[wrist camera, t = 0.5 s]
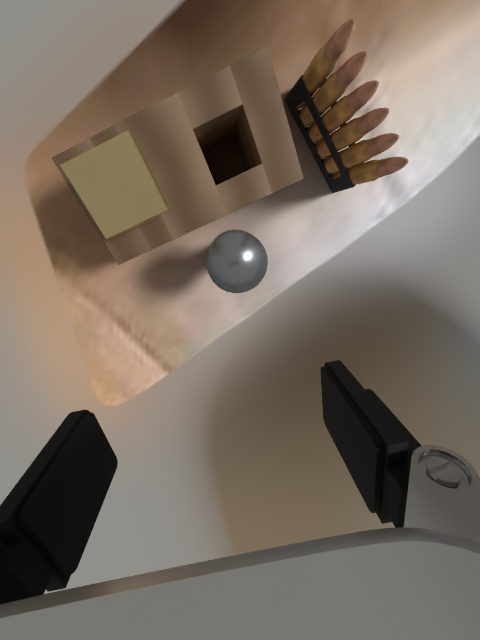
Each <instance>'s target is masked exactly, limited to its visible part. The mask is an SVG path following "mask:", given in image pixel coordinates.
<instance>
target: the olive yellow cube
mask: <svg viewBox="0 0 480 640" xmlns="http://www.w3.org/2000/svg"><path fill="white" fill-rule="evenodd" d="M60 166H61V167H62V169H63V171H64V172H65V174H66V175H67V177H68V179H69V180H70V182H71V183H72V185H73V187H74V188H75V190H76V192H77V193H78V195H79V196H80V198H81V200H82V201H83V203H84V204H85V206H86V208H87V209H88V211H89V212H90V214H91V216H92V217H93V219H94V221H95V222H96V224H97V225H98V227H99V229H100V230H101V232H102V233H103V235H104V237H105V238H106V239H109V238H113V237H116V236H118V235H120V234H122V233H124V232H126V231H128V230H130V229H132V228H135V227H137V226H139V225H141V224H143V223H145V222H147V221H149V220H151V219H153V218H156V217H158V216H160V215H162V214H164V213H166V212H168V211H170V210H171V208H170V206H169V204H168V202H167V200H166V198H165V196H164V194H163V192H162V190H161V188H160V186H159V183H158V181H157V179H156V177H155V175H154V173H153V171H152V169H151V167H150V165H149V163H148V161H147V159H146V157H145V155H144V153H143V151H142V149H141V147H140V145H139V143H138V141H137V139H136V137H135V136H134V135H133V134H132V133H131V132H130V131H128V130H127V131H125V132H123V133H121V134H119V135H117V136H116V137H114V138H112V139H110V140H108V141H106V142H104V143H102V144H100V145H98V146H96V147H94V148H92V149H90V150H88V151H86V152H84V153H82V154H81V155H79V156H77V157H75V158H73V159H71V160H69V161H67V162H65V163H63V164H61V165H60Z"/></svg>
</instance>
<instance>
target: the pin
mask: <svg viewBox="0 0 480 640" xmlns="http://www.w3.org/2000/svg"><path fill="white" fill-rule="evenodd" d="M267 263H268V261H267V254H266V251H265V249H264V247H263V245H262V244H261V242H260V241H259V240H258V239H257V238H256V237H254V236H253V235H251V234H250V233H248V232H245V231H243V230H229V231H226V232H223V233H221V234H220V235H219V236H217V237H216V238H215V239H214V241H213V242H212V244H211V246H210V248H209V251H208V255H207V270H208V273H209V275H210V277H211V279H212V281H213V282H214V283H215V284H216V285H217V286H218V287H220V288H221V289H223V290H225V291H228V292H232V293H242V292H246V291H249V290H251V289H253V288H254V287H256V286H257V285H258V284H259V283H260V282H261V280H262V279H263V277H264V275H265V273H266V270H267Z"/></svg>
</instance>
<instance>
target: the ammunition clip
mask: <svg viewBox="0 0 480 640" xmlns="http://www.w3.org/2000/svg"><path fill="white" fill-rule="evenodd" d="M354 28H355V20H354V19H351V20H348V21H347V22H345V23H344V24H343V25H341V26H340V27H339V28H338V29H337V31H336V32H335V33H334V34H333V35H332V37H331V38H330V40H329V41H328V42H327V43H326V45H325V46H324V47H323V48H321V49H320V50H319V52H318V53H317V54H316V56H315V57H314V59H313V60H312V62H311V63H310V65H309V67H308V68H307V70H306V71H305V73H304V75H302V76H301V77H300V78H299V80H298V81H297V82H296V84H295V85H294V86H293V88H292V89H291V90H290V92H289V93H288V95H287V96H286V97H285V102H286V104H287V106H288V108H289V110H290V112H291V114H292V116H293V118H294V120H295V122H296V123H297V125H298V127H299V129H300V131H301V133H302V135H303V137H304V139H305V141H306V143H307V145H308V147H309V149H310V150H311V152H312V154H313V156H314V158H315V160H316V162H317V164H318V166H319V168H320V170H321V172H322V174H323V175H324V177H325V179H326V181H327V183H328V185H329V187H330V189H331V191H332V193H335V192H338V191H342V190H345V189H348V188H352V187H354V186H355V185H356V184H361V183H365V182H370V181H374V180H376V179H378V178H379V177H383V176H385V175H389V174H392V173H394V172H396V171H398V170H400V169H401V168H403V167H404V166H405V165H406V164H407V163H408V159H406V158H404V157H391V158H386V159H381V160H371V161H368V162H365V161H367V160H369V159H370V158H371V157H373V156H375V155H377V154H380V153H382V152H383V151H385V150H387V149H389V148H390V147H391V146H392V145H394V144H395V143H396V142H397V140H398V139H399V135H397V134H394V133H389V134H383V135H380V136H377V137H375V138H372V139H369V140H363V141H360V142H358V143H356V144H355V142H356V141H358V140H360V139H361V138H362V137H363V136H364V135H365V134H367V133H368V132H369V131H371V130H373V129H374V128H376V127H377V126H378V125H379V124H380V123H381V122H382V121H383V120H384V119H385V118H386V117H387V115H388V113H389V109H388V108H378V109H375V110H373V111H370V112H368V113H367V114H365V115H363V116H361V117H359V118H355V119H353V120H351V121H349V122H348V123H346V122H347V121H348V120H349V119H351V117H352V116H353V115H354V114H355V113H356V112H357V111H358V110H359V109H360V108H361V107H362V106H364V105H365V104H366V103H367V102H368V101H369V100H370V98H371V97H372V96H373V95H374V93H375V92H376V90H377V88H378V84H379V82H378V81H370V82H367V83H365V84H363V85H362V86H360V87H358V88H357V89H356V90H354V91H353V92H351V93H350V94H349V95H347V96H345V97H343V98H341V99H340V100H339V101H338V102H337V100H338V99H339V98H340V97H341V95H342V94H343V93H344V91H345V90H346V88H347V87H348V86H349V84H350V83H351V82H352V81H353V80H354V79H355V77H356V76H357V75H358V74H359V72H360V71H361V69H362V67H363V65H364V63H365V61H366V59H367V52H366V51H362V52H359V53H357V54H356V55H354V56H352V57H351V58H350V59H349V60H347V61H346V62H345V63H344V65H343V66H342V67H340V68H339V69H338V70H337V71H336V72H335V73H333V74H332V75H330V76H329V78H328V79H326V78H327V77H328V75H329V74H330V73H331V72H332V70H333V68H334V66H335V64H336V62H337V60H338V59H339V57H340V55H341V54H342V53H343V51H344V50H345V48H346V47H347V45H348V43H349V41H350V39H351V36H352V34H353V31H354ZM318 88H319V90H318V91H317V89H318ZM316 91H317V92H316ZM315 92H316V93H315ZM314 93H315V94H314ZM313 94H314V96H313ZM312 96H313V97H312ZM330 106H331V108H330V109H329V110H328V111H327V112H326V113H325V114H323V113H324V112H325V111H326V110H327V109H328V108H329V107H330ZM322 114H323V115H322ZM321 115H322V116H321ZM320 116H321V117H320ZM339 127H340V128H339ZM337 128H339V129H338V130H336V129H337ZM334 130H336V131H335V132H333V131H334ZM332 132H333V133H332ZM330 133H332V134H330ZM329 134H330V135H329ZM347 146H349V147H348V148H346V149H344V150H342V151H340V152H338V151H339V150H341V149H343V148H345V147H347ZM364 162H365V163H364ZM349 167H350V168H349ZM346 168H347V169H346Z"/></svg>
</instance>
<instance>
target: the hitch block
mask: <svg viewBox="0 0 480 640" xmlns="http://www.w3.org/2000/svg"><path fill="white" fill-rule="evenodd" d="M127 130H128V131H130V132H131V133H132V134H133V135H134V136H135V137H136V139H137V141H138V143H139V145H140V147H141V149H142V151H143V153H144V155H145V157H146V159H147V161H148V163H149V165H150V167H151V169H152V171H153V173H154V175H155V177H156V179H157V181H158V183H159V186H160V188H161V190H162V192H163V194H164V196H165V198H166V200H167V202H168V204H169V206H170V208H171V210H170V211H168V212H166V213H164V214H162V215H160V216H158V217H156V218H153V219H151V220H149V221H147V222H145V223H143V224H141V225H139V226H137V227H135V228H132V229H130V230H128V231H126V232H124V233H122V234H120V235H118V236H116V237H113V238H109V239H106V238H105V237H104V235H103V233H102V232H101V230H100V229H99V227H98V225H97V224H96V222H95V221H94V219H93V217H92V216H91V214H90V212H89V211H88V209H87V208H86V206H85V204H84V203H83V201H82V200H81V198H80V196H79V195H78V193H77V192H76V190H75V188H74V187H73V185H72V183H71V182H70V180H69V179H68V177H67V175H66V174H65V172H64V171H63V169H62V167H61V166H60V165H61V164H63V163H65V162H67V161H69V160H71V159H73V158H75V157H77V156H79V155H81V154H82V153H84V152H86V151H88V150H90V149H92V148H94V147H96V146H98V145H100V144H102V143H104V142H106V141H108V140H110V139H112V138H114V137H116V136H117V135H119V134H121V133H123V132H125V131H127ZM235 134H236V136H237V139H238V142H239V145H240V147H241V150H242V153H243V156H244V159H245V162H246V164H247V167H248V171H245V172H243V173H241V174H239V175H237V176H235V177H233V178H231V179H229V180H227V181H224V182H222V183H220V184H218V185H215V182H214V180H213V177H212V175H211V172H210V170H209V168H208V165H207V163H206V160H205V158H204V155H203V153H202V150H204V149H206V148H208V147H210V146H212V145H215V144H217V143H219V142H221V141H223V140H225V139H227V138H229V137H231V136H233V135H235ZM52 160H53V161H54V163H55V165H56V166H57V168H58V169H59V171H60V173H61V174H62V176H63V177H64V179H65V181H66V182H67V184H68V185H69V187H70V189H71V190H72V192H73V193H74V195H75V196H76V198H77V200H78V201H79V203H80V204H81V206H82V208H83V209H84V211H85V212H86V214H87V216H88V217H89V219H90V220H91V222H92V224H93V225H94V227H95V228H96V230H97V232H98V233H99V235H100V236H101V238H102V240H103V241H104V243H105V244H106V246H107V248H108V249H109V251H110V252H111V254H112V256H113V257H114V259H115V260H116V262H117V264H118V265H119V264H121V263H124V262H126V261H128V260H130V259H132V258H134V257H136V256H139V255H141V254H143V253H145V252H147V251H149V250H152V249H154V248H156V247H158V246H160V245H162V244H164V243H167V242H169V241H171V240H173V239H175V238H177V237H180V236H182V235H184V234H186V233H188V232H190V231H192V230H195V229H197V228H199V227H201V226H203V225H205V224H207V223H210V222H212V221H214V220H216V219H218V218H220V217H223V216H225V215H227V214H229V213H231V212H233V211H235V210H238V209H240V208H242V207H244V206H246V205H248V204H251V203H253V202H255V201H257V200H259V199H261V198H263V197H266V196H268V195H270V194H272V193H274V192H276V191H278V190H281V189H283V188H285V187H287V186H289V185H291V184H294V183H296V182H298V181H300V180H302V179H304V178H303V174H302V170H301V167H300V163H299V160H298V156H297V152H296V149H295V145H294V142H293V138H292V135H291V131H290V127H289V124H288V120H287V117H286V113H285V109H284V106H283V102H282V99H281V95H280V91H279V88H278V84H277V81H276V77H275V73H274V70H273V66H272V63H271V59H270V55H269V52H268V48H267V46H266V47H264V48H262V49H260V50H258V51H257V52H255V53H253V54H251V55H249V56H247V57H245V58H243V59H241V60H239V61H237V62H235V63H233V64H231V65H230V66H228V67H226V68H224V69H222V70H220V71H218V72H216V73H214V74H212V75H210V76H208V77H206V78H205V79H203V80H201V81H199V82H197V83H195V84H193V85H191V86H189V87H187V88H185V89H183V90H181V91H179V92H178V93H176V94H174V95H172V96H170V97H168V98H166V99H164V100H162V101H160V102H158V103H156V104H154V105H152V106H151V107H149V108H147V109H145V110H143V111H141V112H139V113H137V114H135V115H133V116H131V117H129V118H127V119H125V120H124V121H122V122H120V123H118V124H116V125H114V126H112V127H110V128H108V129H106V130H104V131H102V132H100V133H98V134H97V135H95V136H93V137H91V138H89V139H87V140H85V141H83V142H81V143H79V144H77V145H75V146H73V147H72V148H70V149H68V150H66V151H64V152H62V153H60V154H58V155H56V156H54V157H52Z"/></svg>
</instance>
